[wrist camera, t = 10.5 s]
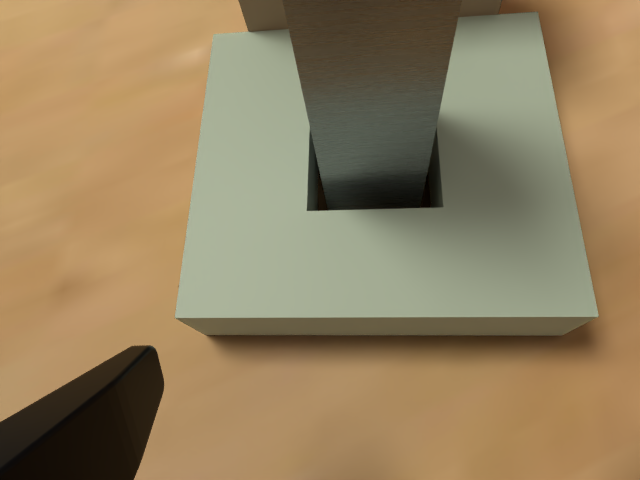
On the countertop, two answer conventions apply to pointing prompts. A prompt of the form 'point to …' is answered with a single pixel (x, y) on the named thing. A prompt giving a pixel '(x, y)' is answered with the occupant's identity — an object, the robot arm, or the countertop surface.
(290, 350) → the countertop surface
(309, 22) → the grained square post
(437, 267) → the square holed base
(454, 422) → the countertop surface
